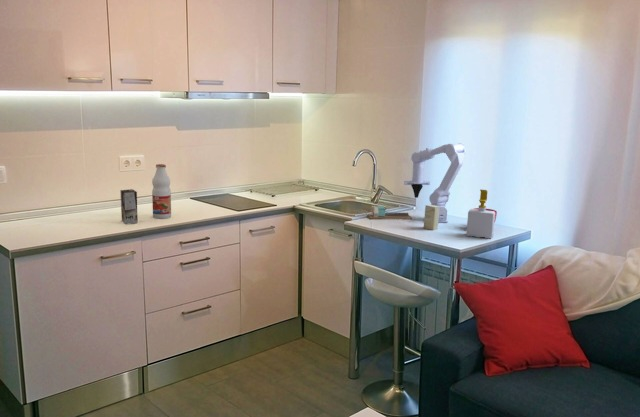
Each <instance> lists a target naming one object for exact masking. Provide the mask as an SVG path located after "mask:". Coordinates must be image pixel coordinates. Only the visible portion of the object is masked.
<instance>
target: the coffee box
mask: <svg viewBox="0 0 640 417" xmlns="http://www.w3.org/2000/svg"><path fill="white" fill-rule="evenodd" d="M120 210H121V212H120V213H121V222H122V223H123V224H125V225H133V224H138V218H139V217H138V191H136V190H135V189H132V188H131V189H120Z"/></svg>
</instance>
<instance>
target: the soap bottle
mask: <svg viewBox="0 0 640 417" xmlns="http://www.w3.org/2000/svg"><path fill="white" fill-rule="evenodd" d="M479 191H480V195H479V196H480V197H479V200H478V201H479V203H480V204H479V205H478V208H479V209H478V210H477V209H474V208H471V209H469V210H468V211H467V222H466V233H465V234H466V237H472V236H476V237H475V238H480V237H485V238H484V239H488V238H491V239H492V238H493V237H494V231H495V223H496V220H495V212H494V211H487V210H486V209H487V206H486V205H485V204H486V202H487V200H488V190H487V189H480V190H479ZM494 222H495V223H494Z"/></svg>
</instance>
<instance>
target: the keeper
mask: <svg viewBox="0 0 640 417" xmlns="http://www.w3.org/2000/svg"><path fill="white" fill-rule="evenodd" d="M375 206H376V207H378V216H385V213H386V209H387V208H386V207H385V206H384V205H375Z"/></svg>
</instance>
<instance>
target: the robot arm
mask: <svg viewBox="0 0 640 417" xmlns="http://www.w3.org/2000/svg"><path fill="white" fill-rule="evenodd" d="M466 152H467V150H466V148H465V145H464V144H463V143H461V142H459V143H458V142H457V143H447V144H443V145H441V146H439V147H438V146H437V147H435V148H431V147H426V148H425V149H423V150H419V151H418V152H417V151H415V152H413V153H412V154H411V158H410V159H411V161H412V177H411V178H412V179H411V180H404V183H403V184H404V185H405V186H411V188H412V191H413V194H414V198H417V199H418V198H419V195H420V193H421V190H423V187H424V186H430V185H431V181H429V180H423V178H424V177H423V176H424V165H425V162H427V161H429V160H431V159H434V158H435V156H436V155H439V154H445V155H446V156H447V158H448V159H449V161H450V165H449V167H448V169H447V171H446V172H445V175H444V176H443V178H442V180H441V182H440V184H439V186H438V187H437V188H435V189H434V190H433V192H432V193H430V194H429V198H428V199H429V203H430V205H435V206H440V209H439V219H438V223H448V222H449V221H448V220H447V216H448V210H447V208H446V205H447V203H448V202H449V198H450V194H451V193H450V188H451V186H452V185H453V183H454V182H455V179H456V177H457V175H458V174H459V172H460V170H461V168H462V167H463V164H464V159H465V157H464V156H465V154H466Z"/></svg>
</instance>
